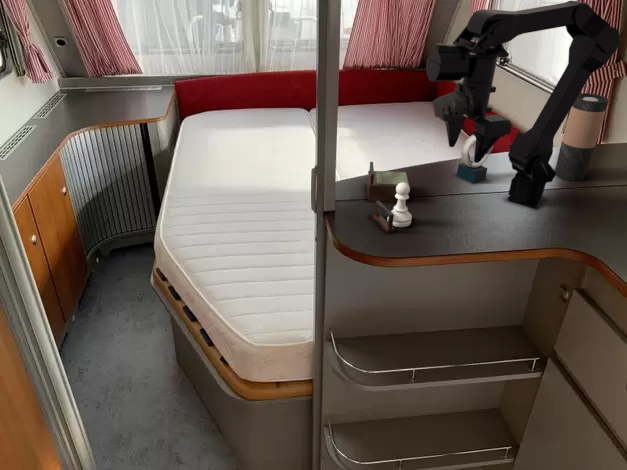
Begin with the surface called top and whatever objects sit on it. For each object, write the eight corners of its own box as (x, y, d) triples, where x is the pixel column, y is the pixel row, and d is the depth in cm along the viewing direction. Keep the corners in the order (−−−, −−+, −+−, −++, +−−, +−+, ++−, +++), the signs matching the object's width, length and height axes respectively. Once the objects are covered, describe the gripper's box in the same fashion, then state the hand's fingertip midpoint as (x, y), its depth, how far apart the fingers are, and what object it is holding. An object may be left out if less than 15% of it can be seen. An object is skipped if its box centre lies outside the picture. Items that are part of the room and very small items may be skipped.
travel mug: (588, 182, 132) (613, 103, 122) (556, 179, 133) (578, 100, 123) (581, 170, 138) (604, 94, 128) (551, 167, 140) (571, 91, 129)
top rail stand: (404, 187, 127) (407, 162, 124) (407, 202, 120) (410, 176, 117) (367, 185, 128) (368, 160, 124) (367, 200, 121) (369, 174, 117)
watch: (490, 178, 133) (499, 136, 127) (467, 184, 129) (475, 142, 124) (474, 170, 137) (481, 129, 131) (451, 176, 133) (458, 134, 128)
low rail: (372, 217, 114) (374, 201, 112) (379, 216, 114) (380, 200, 112) (387, 232, 108) (388, 215, 106) (394, 231, 109) (396, 214, 107)
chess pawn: (415, 221, 113) (420, 182, 108) (403, 230, 109) (408, 190, 105) (394, 214, 115) (398, 176, 111) (382, 222, 112) (386, 183, 107)
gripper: (418, 70, 109) (408, 142, 117) (471, 94, 94) (456, 175, 102) (463, 68, 113) (451, 138, 121) (522, 91, 98) (503, 169, 106)
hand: (463, 154), depth 112 cm, fingers open, 9 cm apart
